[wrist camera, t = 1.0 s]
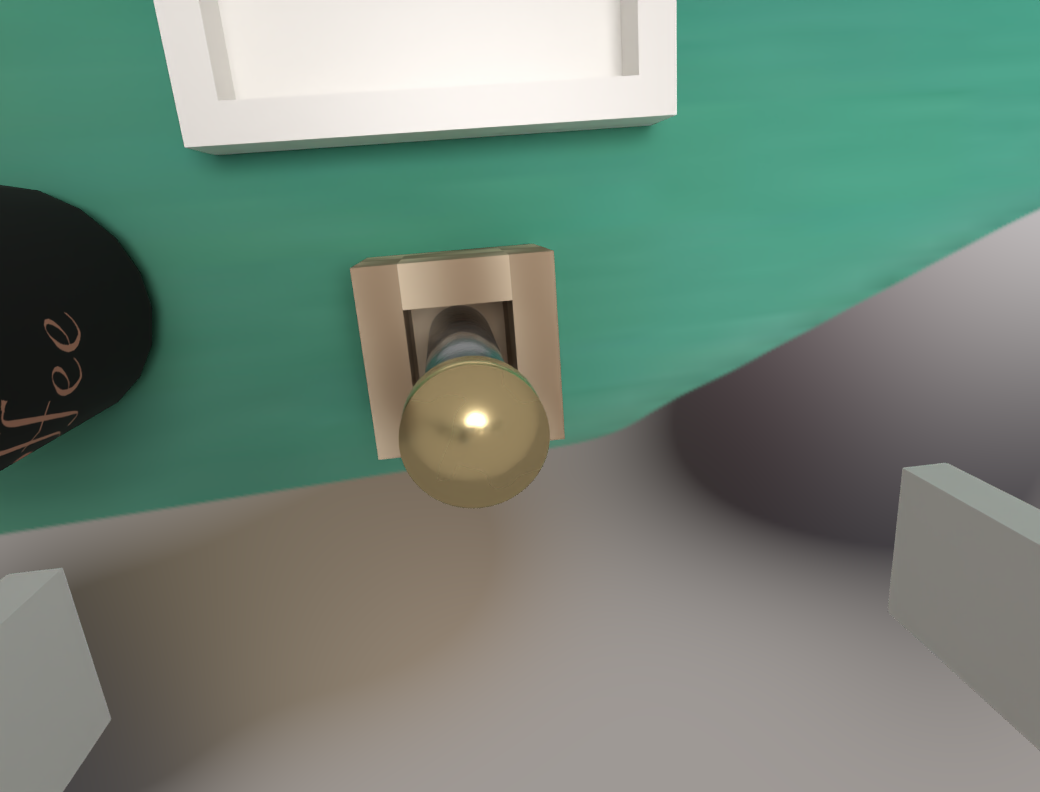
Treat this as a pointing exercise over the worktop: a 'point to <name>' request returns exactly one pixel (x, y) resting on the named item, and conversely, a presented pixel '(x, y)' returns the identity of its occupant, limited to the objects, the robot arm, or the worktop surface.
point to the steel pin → (471, 418)
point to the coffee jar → (63, 320)
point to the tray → (412, 69)
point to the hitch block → (448, 282)
